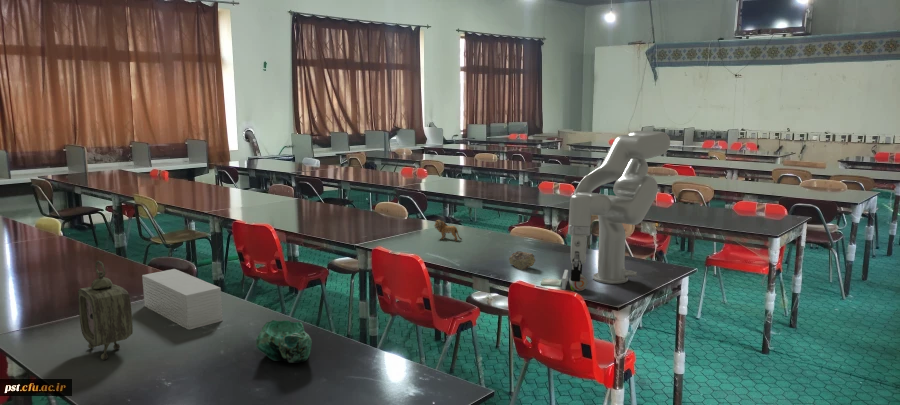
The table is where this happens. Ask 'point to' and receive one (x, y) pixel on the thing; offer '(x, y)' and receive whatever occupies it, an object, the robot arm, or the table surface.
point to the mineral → (284, 341)
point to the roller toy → (578, 284)
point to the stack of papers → (182, 298)
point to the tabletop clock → (104, 313)
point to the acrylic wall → (564, 279)
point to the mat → (551, 282)
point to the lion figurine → (446, 229)
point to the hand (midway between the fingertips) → (576, 278)
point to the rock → (522, 260)
